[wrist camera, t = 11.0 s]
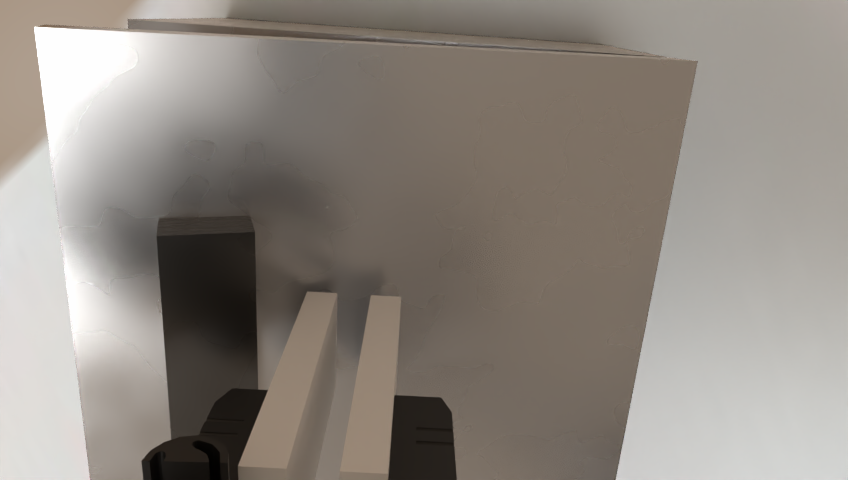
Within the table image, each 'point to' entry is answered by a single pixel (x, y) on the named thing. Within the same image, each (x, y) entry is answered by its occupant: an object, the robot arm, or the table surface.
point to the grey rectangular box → (366, 35)
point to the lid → (361, 230)
